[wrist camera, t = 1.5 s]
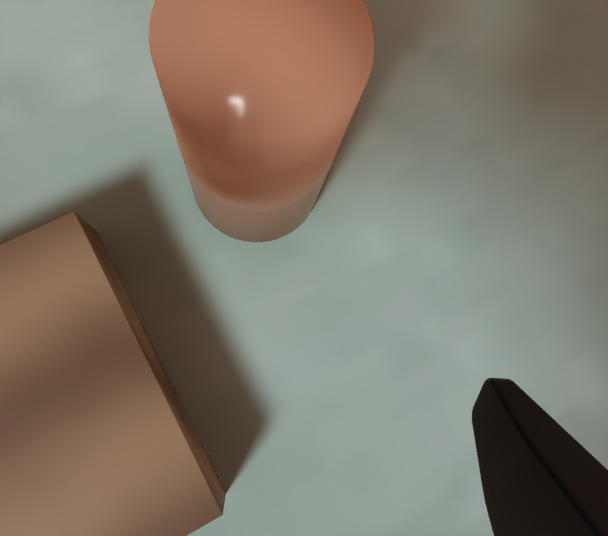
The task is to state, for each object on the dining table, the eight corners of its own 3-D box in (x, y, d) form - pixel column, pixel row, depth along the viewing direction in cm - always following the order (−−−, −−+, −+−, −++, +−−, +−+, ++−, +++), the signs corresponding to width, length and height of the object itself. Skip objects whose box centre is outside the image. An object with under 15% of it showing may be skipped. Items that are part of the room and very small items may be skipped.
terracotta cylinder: (340, 208, 25) (414, 87, 14) (227, 263, 24) (213, 181, 13) (282, 102, 25) (310, -94, 14) (170, 152, 24) (109, -16, 13)
